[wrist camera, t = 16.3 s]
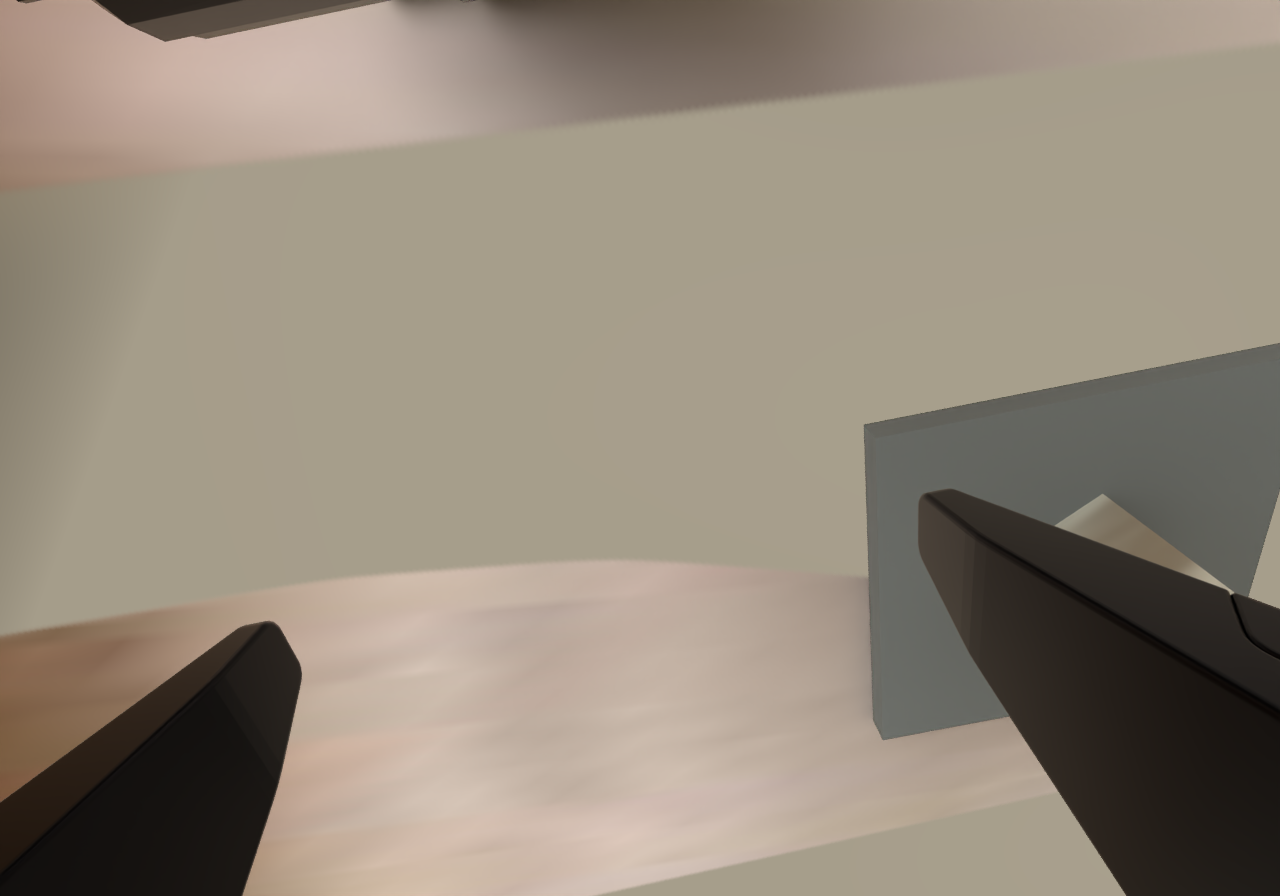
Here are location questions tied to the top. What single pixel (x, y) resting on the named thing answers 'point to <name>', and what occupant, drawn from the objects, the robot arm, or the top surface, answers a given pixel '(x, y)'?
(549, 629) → the top surface
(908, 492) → the rubber mat
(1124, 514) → the cream rectangular block
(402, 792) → the top surface
